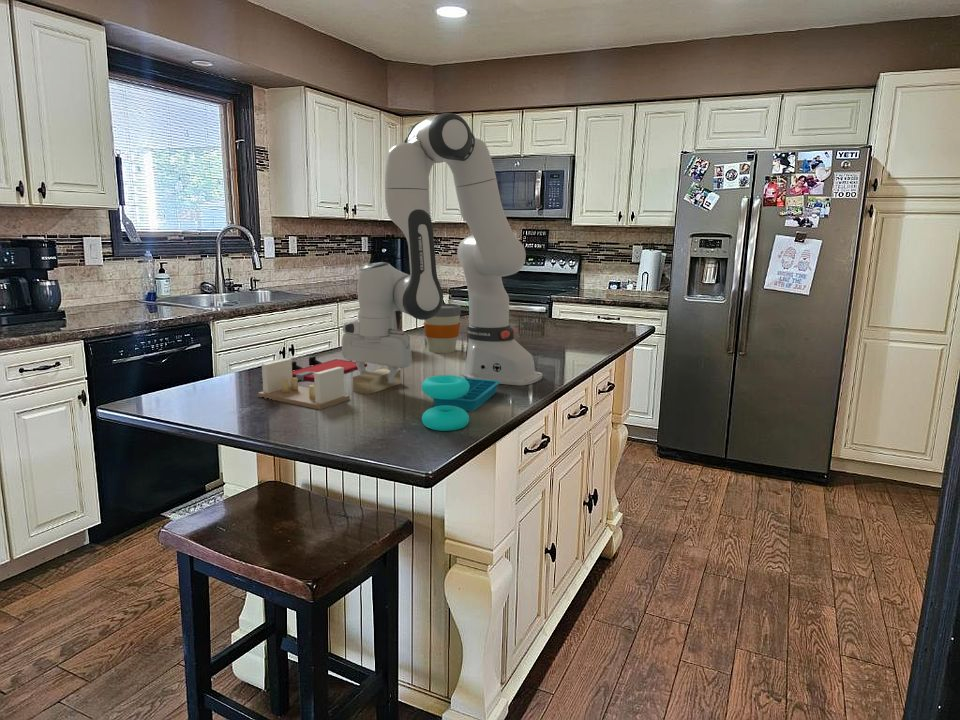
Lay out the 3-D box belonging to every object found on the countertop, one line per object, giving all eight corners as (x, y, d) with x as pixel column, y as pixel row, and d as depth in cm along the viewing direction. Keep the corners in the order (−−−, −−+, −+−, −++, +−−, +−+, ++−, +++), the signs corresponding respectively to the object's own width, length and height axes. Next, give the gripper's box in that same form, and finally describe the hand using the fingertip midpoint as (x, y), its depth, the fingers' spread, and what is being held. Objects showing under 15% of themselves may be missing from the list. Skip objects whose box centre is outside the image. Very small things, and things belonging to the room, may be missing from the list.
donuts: (476, 376, 136) (458, 387, 127) (476, 421, 138) (458, 435, 129) (434, 372, 139) (413, 382, 130) (434, 416, 141) (413, 429, 132)
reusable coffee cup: (427, 346, 221) (427, 302, 218) (463, 347, 219) (463, 304, 216) (419, 353, 209) (419, 307, 205) (457, 354, 207) (457, 308, 204)
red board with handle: (254, 381, 169) (298, 389, 163) (253, 371, 168) (298, 379, 162) (326, 362, 196) (367, 368, 190) (326, 353, 195) (367, 359, 189)
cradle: (349, 399, 153) (348, 367, 151) (319, 409, 145) (318, 375, 143) (289, 388, 163) (287, 357, 161) (258, 396, 154) (256, 364, 153)
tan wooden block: (385, 381, 172) (385, 367, 171) (400, 384, 169) (400, 369, 169) (353, 392, 161) (352, 377, 160) (368, 395, 158) (368, 379, 157)
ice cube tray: (500, 392, 163) (501, 381, 162) (475, 414, 144) (475, 401, 144) (458, 388, 167) (458, 377, 166) (427, 408, 148) (427, 396, 147)
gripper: (416, 329, 159) (416, 383, 162) (353, 322, 169) (354, 372, 172) (401, 333, 154) (401, 388, 157) (337, 325, 164) (338, 377, 167)
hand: (376, 380), depth 165 cm, fingers open, 7 cm apart
